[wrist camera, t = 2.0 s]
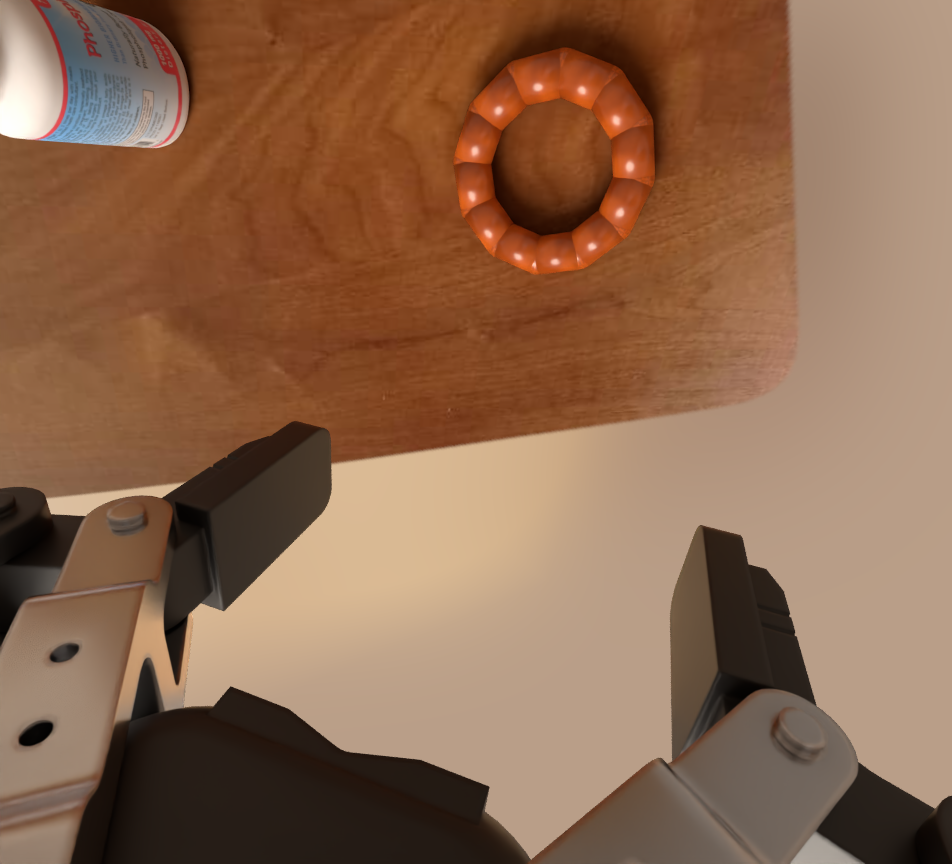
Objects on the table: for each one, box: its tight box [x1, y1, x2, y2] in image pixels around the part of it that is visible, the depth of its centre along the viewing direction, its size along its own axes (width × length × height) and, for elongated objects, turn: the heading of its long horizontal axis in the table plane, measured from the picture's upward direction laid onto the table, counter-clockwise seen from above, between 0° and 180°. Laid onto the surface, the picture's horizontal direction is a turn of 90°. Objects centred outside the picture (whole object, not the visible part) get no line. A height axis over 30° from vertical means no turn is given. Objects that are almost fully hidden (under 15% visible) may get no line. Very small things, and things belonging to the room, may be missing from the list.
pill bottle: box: [0, 0, 189, 148], centre depth 25 cm, size 6×6×11 cm
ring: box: [453, 47, 655, 274], centre depth 25 cm, size 9×9×2 cm
